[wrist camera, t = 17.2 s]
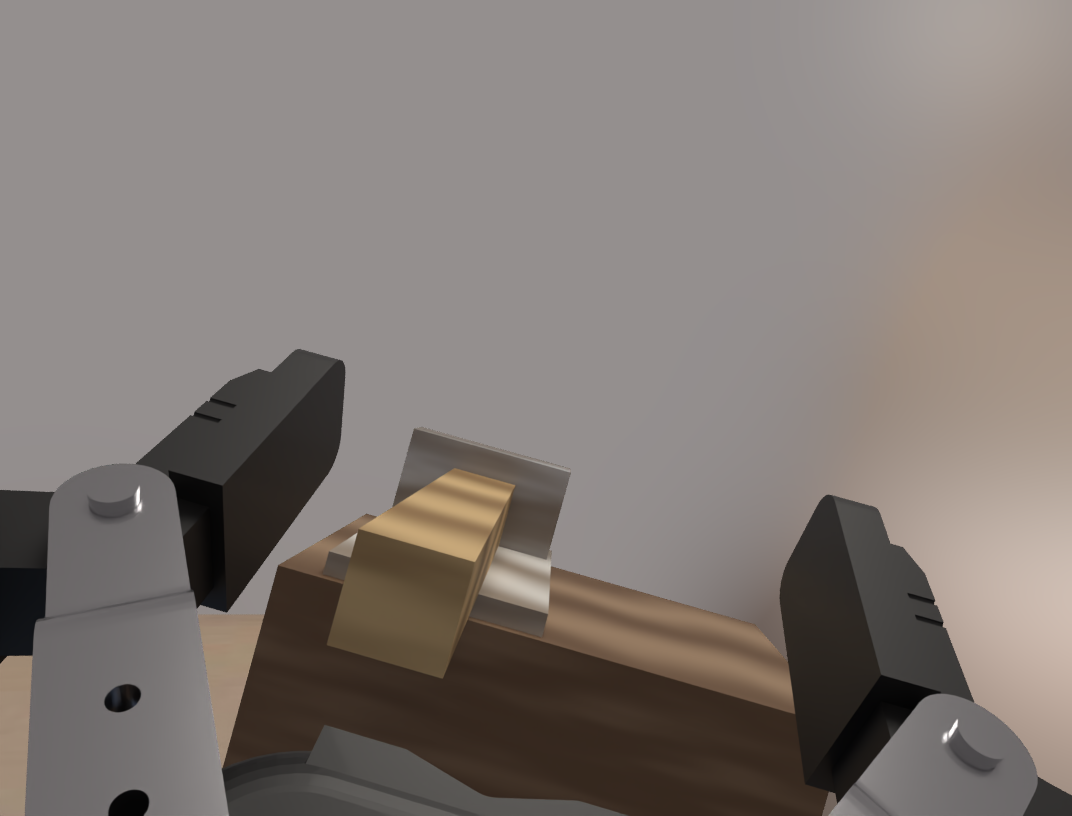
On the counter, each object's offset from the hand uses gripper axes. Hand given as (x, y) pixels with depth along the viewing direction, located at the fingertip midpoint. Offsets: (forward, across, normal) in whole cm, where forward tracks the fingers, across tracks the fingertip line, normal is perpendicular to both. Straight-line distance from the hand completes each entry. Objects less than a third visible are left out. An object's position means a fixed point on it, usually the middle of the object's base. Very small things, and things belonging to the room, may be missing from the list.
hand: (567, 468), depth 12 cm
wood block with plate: (+13, +4, +17) cm, 22 cm away
